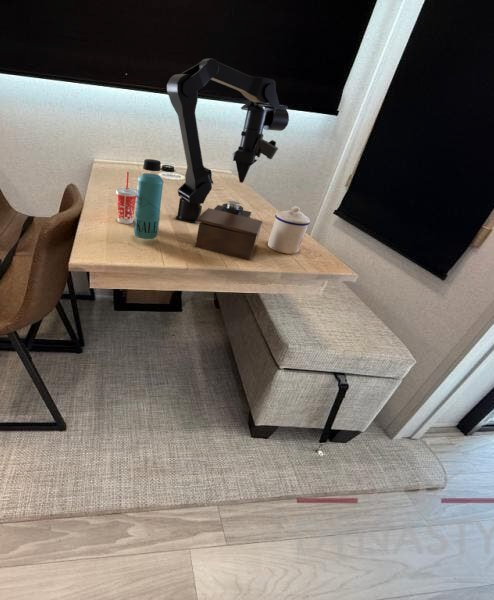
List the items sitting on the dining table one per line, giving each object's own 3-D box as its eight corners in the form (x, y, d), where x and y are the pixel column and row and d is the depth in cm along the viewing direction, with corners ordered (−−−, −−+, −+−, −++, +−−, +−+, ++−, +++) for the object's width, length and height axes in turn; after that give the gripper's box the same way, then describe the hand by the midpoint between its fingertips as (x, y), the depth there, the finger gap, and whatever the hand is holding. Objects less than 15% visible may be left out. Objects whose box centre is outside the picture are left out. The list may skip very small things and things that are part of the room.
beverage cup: (136, 219, 100) (140, 171, 93) (133, 225, 95) (137, 175, 88) (117, 216, 100) (119, 168, 93) (112, 222, 95) (114, 172, 88)
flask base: (209, 218, 109) (212, 206, 107) (216, 210, 117) (218, 199, 115) (245, 226, 106) (248, 213, 104) (249, 218, 114) (252, 206, 112)
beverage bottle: (145, 233, 91) (152, 156, 80) (162, 241, 87) (172, 162, 76) (127, 238, 87) (132, 157, 76) (144, 247, 83) (152, 163, 72)
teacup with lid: (304, 255, 90) (320, 214, 83) (273, 253, 89) (286, 211, 82) (287, 239, 100) (300, 200, 94) (259, 236, 99) (270, 198, 92)
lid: (196, 221, 84) (197, 218, 83) (207, 210, 93) (208, 207, 93) (256, 236, 80) (257, 233, 79) (261, 223, 89) (262, 221, 89)
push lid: (225, 207, 109) (226, 202, 108) (228, 205, 112) (229, 200, 111) (237, 210, 108) (238, 205, 107) (239, 207, 111) (240, 202, 110)
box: (195, 246, 87) (199, 223, 84) (206, 233, 96) (210, 212, 93) (249, 260, 83) (256, 236, 80) (255, 245, 92) (261, 223, 89)
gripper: (278, 134, 88) (262, 192, 97) (282, 130, 103) (269, 181, 112) (237, 128, 91) (226, 186, 100) (247, 126, 106) (237, 176, 115)
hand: (241, 182), depth 106 cm, fingers closed
